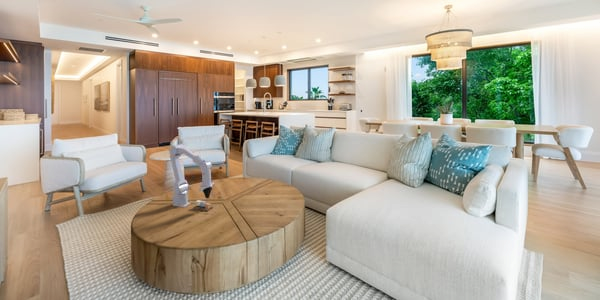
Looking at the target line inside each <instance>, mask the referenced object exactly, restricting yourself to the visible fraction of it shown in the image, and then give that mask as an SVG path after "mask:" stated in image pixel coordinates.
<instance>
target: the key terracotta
mask: <svg viewBox="0 0 600 300" xmlns="http://www.w3.org/2000/svg"><path fill="white" fill-rule="evenodd" d="M211 206H212V205H211V202H206V204H205V208H207V209H209V208H210V207H211Z"/></svg>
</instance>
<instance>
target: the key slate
mask: <svg viewBox="0 0 600 300" xmlns="http://www.w3.org/2000/svg"><path fill="white" fill-rule="evenodd" d="M206 203H207V201H206V200H201V202H200V206H202V207H204V206H205V204H206Z"/></svg>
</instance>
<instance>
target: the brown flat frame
mask: <svg viewBox="0 0 600 300" xmlns="http://www.w3.org/2000/svg"><path fill="white" fill-rule="evenodd" d="M213 209H214V205H211V207H210V208H209V209H207V208H205V206H204V207H202V206H196V205H195V206H193V210H197V211H203V212H209V211H211V210H213Z"/></svg>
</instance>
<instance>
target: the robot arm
mask: <svg viewBox="0 0 600 300" xmlns="http://www.w3.org/2000/svg"><path fill="white" fill-rule="evenodd" d="M168 152H169V158H170V162H171V163H170V164H171V168H172V170H173V171H172V172H173V175H174V180H175V182H174V183H173V185H172V186H173V195H172V201H173V204H172V206H174V207H178V208H179V207H180V208H184V207H187V206H188V205H191V202H188V201H189V200H188V191H189V189H190V185H189V183H188V181H187V179H185V178H184V175H183V174H184V173H183V170H182V165H181V161H180V156H181V155H185V156H186V157H188V158H189V159H191V160H192V163H194V164H195V165H197V166H198V167H199V169H200V171H201V175H202V176H201V178H202V179H201V181H202V185H201V186H200V187H199V188H198V190H199V191H198V192H203V193H204V194H203V195H204V197H205V198H206V199H209V198H210V195H211V192H212V190H213V186H215V182H213V181H212V173H211V172H212V171H211V169H213V163H212V162H211V161H210V160H206V159H205V158H203V157H202V156H201V155H198V154H197V155H196V154H195V153H193V152H192V150H190V149H189V148H188V146H187V145H186V144H184V143H179V144H176V145H175V144H174V145H171V146H170V148H169V149H168Z"/></svg>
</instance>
